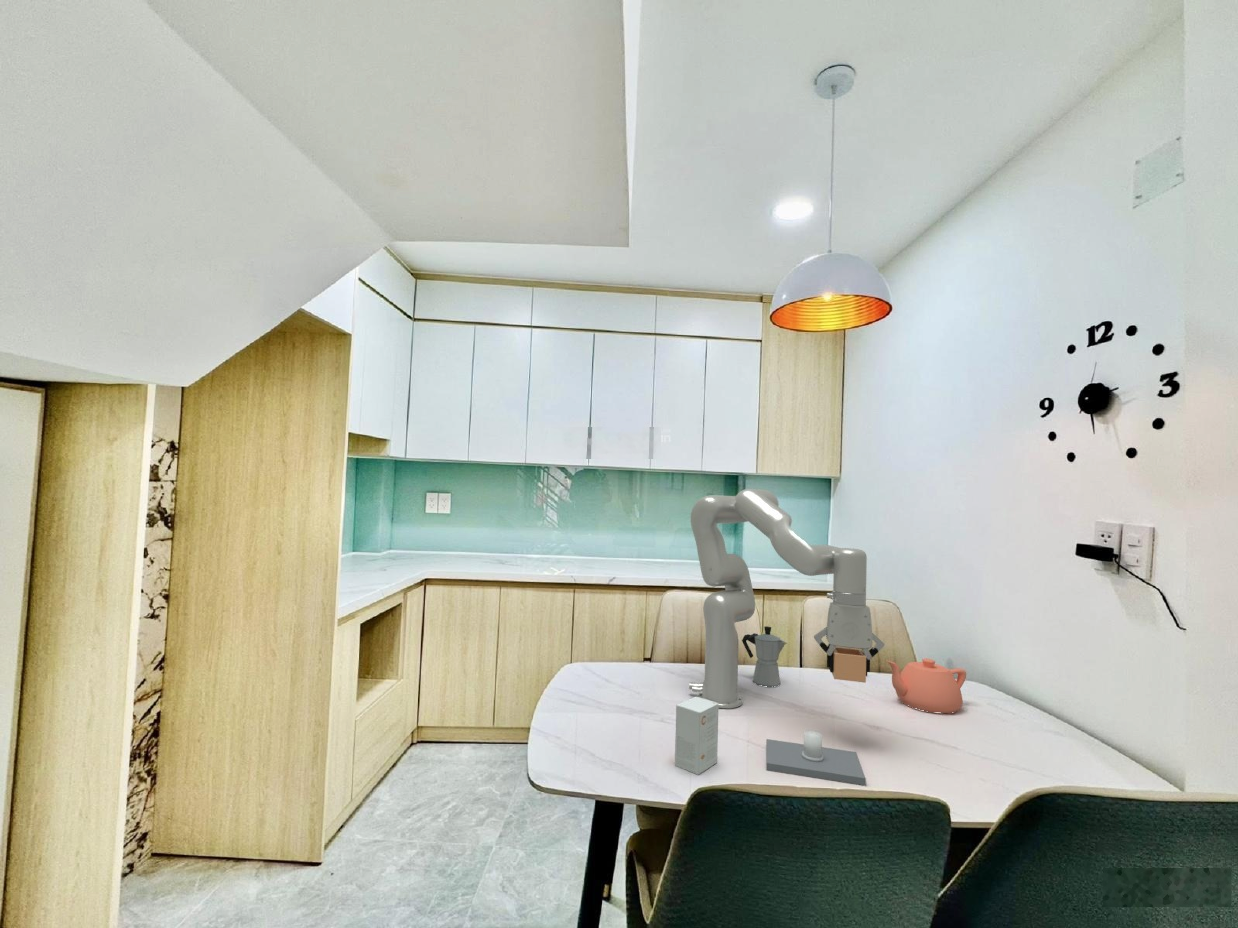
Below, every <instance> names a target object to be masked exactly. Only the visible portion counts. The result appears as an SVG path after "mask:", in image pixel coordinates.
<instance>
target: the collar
mask: <svg viewBox="0 0 1238 928" xmlns="http://www.w3.org/2000/svg"><path fill="white" fill-rule="evenodd" d="M833 656H834V668H833V673H832V672H831V675H832V676H833V679H834V680H838V681H847V682H854V683H855V682H856V683H864V684H866V682H867V681H866V680H867V676H866V656H865V654H864V653H863V651H862V649H856V648H846V647H837V646H836V648H835V650H834V651H833Z"/></svg>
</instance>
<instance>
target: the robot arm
mask: <svg viewBox="0 0 1238 928" xmlns="http://www.w3.org/2000/svg"><path fill="white" fill-rule="evenodd" d="M747 522H748V523H750V524H751V525H752V526H753V527H755V528H756V529H757V530H758V531H760V532H761V533H762V534H763V535H764V536H765V537H767V538H768V539H769V541H770V544H771V546H772V547H773V549H774V551H775V552H776V554H777V555H778V556H779V557H780V559H782V560H783V561H785V562H786V564H788V565H789V566H791V568H793V569H794V570H795V571H797V572H799V574H803V575H804V576H809V577H810V576H811V577H812V576H813V577H814V576H815V577H816V576H823V575H833V578H832V579H833V581H832V582H833V584H832V585H833V586H832V587H833V589H832V591H831V592H827V593H826V598H827V599H830V600H831V601H832V602H830V603H829V606H828V607H829V608H828V613H827V617H826V619H827V622H826V627H825V628H823V629H822V630H820V631H818V632H817V633H816V634H814V635H813V638H814V640H815V641H816V643H817V644H818V645H819V647H820V648H821V649H822V650H823V651H824V653H826V668H827V669H828V668H829V672H830V673H831V674H832V673H833V668H834V656H833V651H834V650H835V648H836V647H841V648H851V649H860V650H862V651H863V653H864V654H865V656H866V677H868V673H870V672H871V660H872V658H873V657H875V656H876V655H877V654H878V653H879V652H880V651H881V650H882V649H883V648H884V647H885V643H884V642H883V640H882V639H880V637H878V636H877V635H875V633H873V625H872V624H873V623H872V614H871V608H870V606H869V605H867V567H868V566H867V564H868V563H867V560H868V558H867V553H866V551H864V550H862V549H858V548H851V547H850V548H848V547H847V548H846V547H845V548H844V547H842V548H841V547H837V546H833V545H829V544H815V545H813V544H809V543H808V542H807V541H805V540H804V539H803V538H801V537H800V536H799V535H798V534H796V533H795V532H794V531H793V529H792V528H791V526H792V522H793V520H792V516H791V515H790V513H788V512H786V511H785V510H784V509H782V508H781V507H779V500H778V498H777V496H776V495H775V494H774V493H773V492H771V491H770V490H767V489H761V488H760V489H759V488H745V489H743V490H741V491H739V492H738V493H737V494H736V495H722V494H710V495H705V496H703V497H701V498H699V499H697V500H696V502H695V504H694V505H693V507H692V509H691V513H690V526H691V529H692V530H691V531H692V533H693V537H694V540H695V546H696V551H697V556H698V561H699V566H700V571H701V577H702V579H703V580H702V581H704V583H705V584H706V585H707V586H710V587H724V589H725V590H719V591H715V592H712V593H711V594H709V595H708V596H707V597H706V598H705V600H704V601H703V606H702V610H703V611H702V612H703V617H704V627H705V628H704V629H705V644H704V645H705V648H704V649H705V650H704V651H705V652H704V653H705V656H704V680H703V682H700V683H696V682H690V681H689V687H688V689H689V690H691V692H696V693H697V692H698V697H699V698H703V699H707V700H710V701H713V702H716V703H718V704H719V709H734V708H735V709H737V708H739V707H740V706H742V705H743V698H742V697H741V695H739V694H738V678H739V675H738V673H739V672H738V671H739V636H738V634H739V633H738V632H737V629H736V624H735V623H740V622H743V621H747V620H750V619H751V618H752V616H754V614H755V611H756V600H755V593H754V591H753V589H754V588H753V584H752V580H751V576H750V575H751V574H750V570H749V568H748V565H747V563H746V561H745V560H744V559H743V557H741V556H740V555H738V554H736V553H728V551H727V547H726V544H725V539H724V536H723V533H722V532H721V531H720V529H719V528H718V526H717V525H718V524H739V523H740V524H741V523H747ZM825 636H826V641H827V642H828V644H826V643H825V641H823V640H822V639H823V638H824V637H825ZM873 642H874V643H875V645H874V646H873ZM872 646H873V647H872Z"/></svg>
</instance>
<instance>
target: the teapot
mask: <svg viewBox="0 0 1238 928" xmlns="http://www.w3.org/2000/svg"><path fill="white" fill-rule="evenodd" d="M886 663H888V664H889V665H890V667H891V684H892V686H893V688H894V689H895V693H896V695H897V697H898V699H899V700H900V701H901V702H902V703H903V704H904V703H905V704H906V706H907V705H909V706H911V707H913V708H917V709H920V710H924V711H928V712H927V713H929V712H941V713H951V714H953V713H952V712H955V713H957V712H958V711H959V710H960V709H961V708H962V706H963V694H962V691H961V688H962V686H963V685H964V683H965V681H966V680H967V679H966V678H967V672H966V670H965V669H963V668H952V669H949V668H948V667H945V666H943V665H940V664H936V660H934V659H932V658H922V659H921V661H911V662H909V663H907V664H906V665H905V666H904V668H903V669H902V671H901V672H900V668H899V666H898V664H897V663H896V662H893V661H890V660H886ZM955 674H957V678H955V676H954V675H955ZM905 704H904V705H905ZM909 706H908V707H909ZM911 707H910V708H911ZM913 708H912V709H913ZM956 711H957V712H956Z"/></svg>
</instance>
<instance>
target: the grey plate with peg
mask: <svg viewBox="0 0 1238 928" xmlns="http://www.w3.org/2000/svg"><path fill="white" fill-rule="evenodd" d="M765 741H766V742H765V743H766V747H765V749H766V750H765V753H766V754H765V755H766V763H765V765H766V769H765V770H766V771H768V772H769V771H771V772H775V773H776V772H777V773H782V774H783V773H784V774H788V775H789V774H790V775H795V776H803V777H807V778H813V779H821V780H827V781H831V782H832V781H834V782H839V783H840V782H841V783H846V784H853V785H857V784H860V785H859V786H864V785H865V786H866V784H867V783H866V778H867V777H866V775H865V772H864V770H863V767H862V764H861V763H860V759H859V757H858V754H857V751H853V750H845V749H837V748H831V747H824V746H822V745H823V735H822V734H821V733H820V732H818V731H813V730H805V731H804V732H803V743H796V742H790V741H783V740H776V739H767V738H766V740H765ZM865 786H864V787H865Z"/></svg>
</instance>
